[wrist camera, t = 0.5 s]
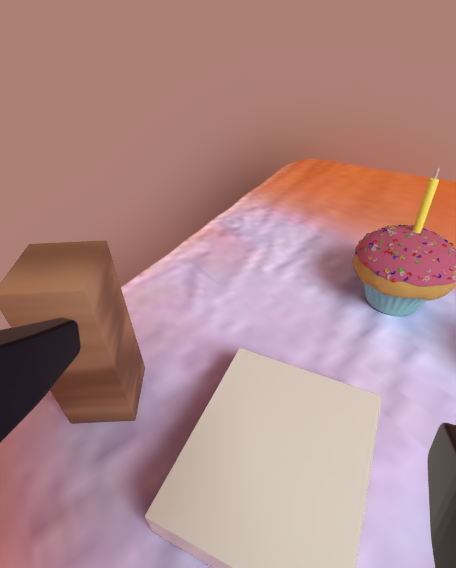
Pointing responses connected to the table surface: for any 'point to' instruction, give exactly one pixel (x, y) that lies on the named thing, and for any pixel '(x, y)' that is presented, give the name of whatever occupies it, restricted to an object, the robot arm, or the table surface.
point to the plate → (272, 471)
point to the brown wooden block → (81, 325)
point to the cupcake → (406, 264)
